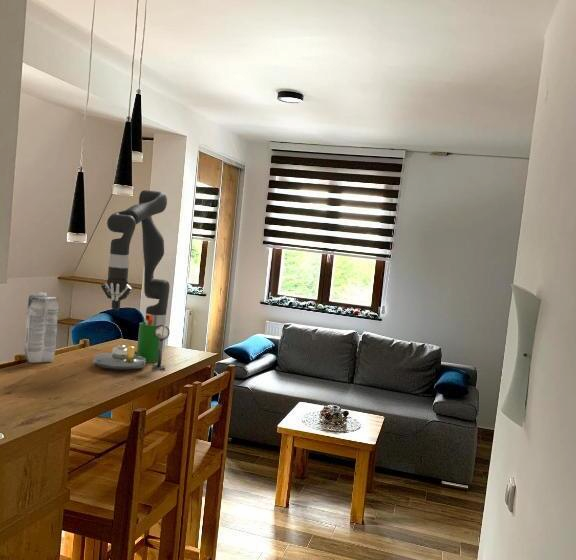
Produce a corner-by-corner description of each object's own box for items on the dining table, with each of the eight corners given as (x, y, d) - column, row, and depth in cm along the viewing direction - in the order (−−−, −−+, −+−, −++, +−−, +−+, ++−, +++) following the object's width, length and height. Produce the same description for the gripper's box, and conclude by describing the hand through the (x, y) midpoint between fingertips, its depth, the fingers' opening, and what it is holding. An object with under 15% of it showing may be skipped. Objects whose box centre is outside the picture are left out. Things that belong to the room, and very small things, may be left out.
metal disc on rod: (151, 366, 256) (155, 323, 255) (166, 367, 257) (170, 324, 256) (151, 369, 251) (154, 325, 250) (166, 370, 252) (170, 326, 251)
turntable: (85, 359, 250) (87, 338, 250) (131, 357, 263) (133, 337, 263) (106, 370, 235) (108, 348, 235) (154, 367, 248) (156, 346, 248)
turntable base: (118, 363, 256) (118, 360, 256) (137, 367, 252) (137, 365, 252) (100, 366, 247) (101, 363, 247) (120, 371, 243) (120, 368, 243)
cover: (108, 357, 247) (109, 345, 247) (117, 354, 254) (118, 342, 254) (124, 359, 246) (125, 347, 245) (133, 356, 253) (134, 345, 252)
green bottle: (162, 359, 272) (166, 314, 271) (156, 363, 263) (160, 316, 262) (140, 356, 273) (143, 311, 272) (132, 360, 264) (136, 313, 263)
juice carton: (55, 362, 246) (60, 294, 245) (27, 363, 240) (32, 294, 239) (49, 358, 254) (54, 292, 252) (22, 358, 248) (27, 291, 246)
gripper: (138, 267, 245) (135, 310, 247) (107, 263, 248) (104, 306, 250) (129, 268, 238) (126, 313, 240) (98, 264, 241) (95, 309, 242)
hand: (115, 309), depth 245 cm, fingers closed
